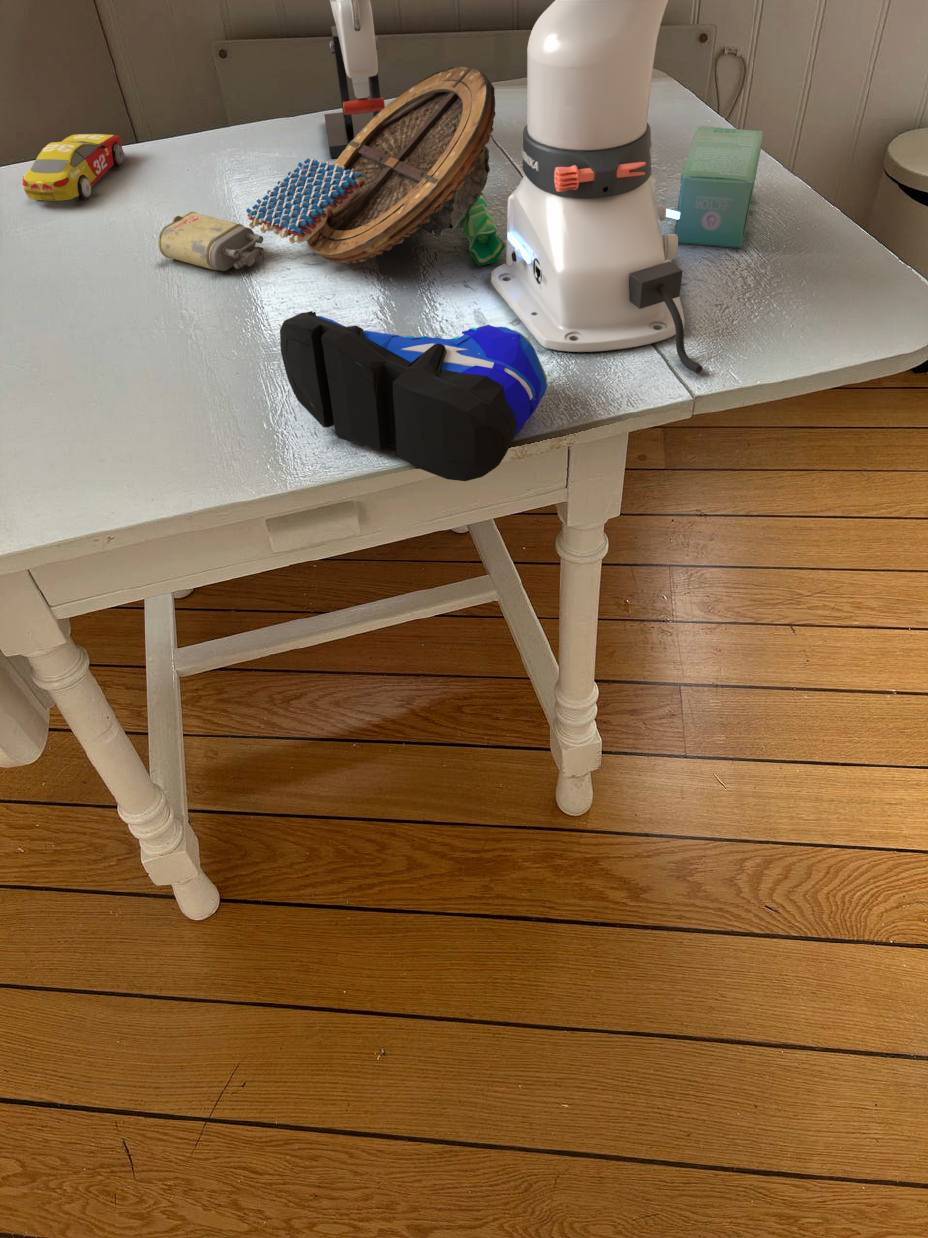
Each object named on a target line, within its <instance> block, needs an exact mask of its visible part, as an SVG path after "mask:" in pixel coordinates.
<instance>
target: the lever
mask: <svg viewBox="0 0 928 1238" xmlns="http://www.w3.org/2000/svg"><path fill="white" fill-rule="evenodd" d="M343 107H344V114H345V115H351V114H360V113H369V112H378V111H381V110H382V109H384V108H385V107H386V105H385V98H384V97H380V98H373V99H371V98H368V97H367V98H360V99H358V98H357V99H355V100H350V101H346V102H343Z"/></svg>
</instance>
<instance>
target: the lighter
mask: <svg viewBox="0 0 928 1238" xmlns="http://www.w3.org/2000/svg"><path fill="white" fill-rule="evenodd" d="M157 238H158V239H157V241H158V242H157V245H158V250H159V252H160V254H161V255H162V256H163V257H165V258H166V259H171V260H172V259H173V260H176V261H180V262H184V263H187V264H190V265H194V266H198V267H202V268H206V269H208V270H212V271H222V272H225V271H229V270H230V269H231V268H233V267H234V269H236V270H240V269H241V268H242V267H244V266H247V267H251V266H253V265H254V264H255V263H256V258H257V257H259V256H264V253H265V249H264V247H261V246H256V244H263V242H264V237H263V235H259V234H256V233H255V232H254V231H253V230H252V228H251V227H247V226H244V225H243V224H241V223H236V222H233V221H229V220H224V219H220V218H216V217H213V216H209V215H205V214H200V213H198V212H195V211H189V212H186V214H184V215H182V216H180V215H176V216H175V217H173V219H172V221H171V222H169V223H168V224H167V225H165V226H163V227H162V228H161V230H160V232H159V234H158V237H157Z"/></svg>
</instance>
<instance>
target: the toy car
mask: <svg viewBox="0 0 928 1238" xmlns="http://www.w3.org/2000/svg"><path fill="white" fill-rule="evenodd" d="M39 152H40V153H38V155H37V157H36V158H35V160H34V162H33V164H31V166H30V168H28V171H26V173H25V174H24V175H23V176H22V187H23V191H24V192H25V194H26V196H27V197H28V199H30V200H35V201H44V202H45V201H47V202H51V201H52V202H55V201H57V202H58V201H59V202H63V201H69V200H72V199H75V198H77V199H78V200H81V201H86V200H89V199H90V198H91V195H92V187H93V186H94V185H95V184H97V182H98V181H100V179H101V178H102V177H103V176H104V175H105V174H106V173H107V172H108V171H109V170H110V168H112V167H113V166H114V167H115V166H117V167H118V166H119V167H120V166H122V165H123V162H124V160H125V158H124V157H125V152H124V149H123V146H122V142H121V137H120V136H119V135H116V134H105V133H104V134H103V133H79V134H78V133H76V134H71V135H70V136H67V137H66V138H64V139H63V140H61V141H54V142H53V141H52V142H51V141H50V142H49V143H48V144H47V145H45V147H43V148H42V149H41V151H39Z"/></svg>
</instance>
